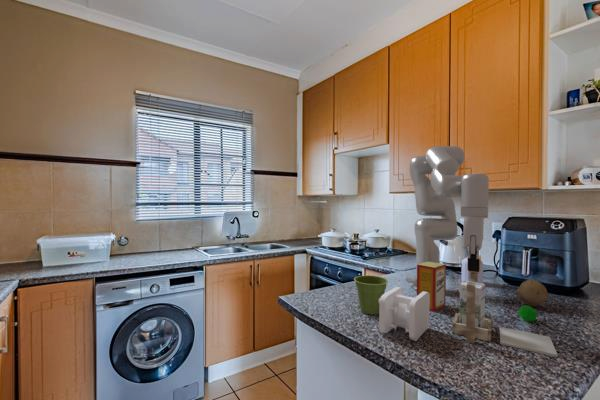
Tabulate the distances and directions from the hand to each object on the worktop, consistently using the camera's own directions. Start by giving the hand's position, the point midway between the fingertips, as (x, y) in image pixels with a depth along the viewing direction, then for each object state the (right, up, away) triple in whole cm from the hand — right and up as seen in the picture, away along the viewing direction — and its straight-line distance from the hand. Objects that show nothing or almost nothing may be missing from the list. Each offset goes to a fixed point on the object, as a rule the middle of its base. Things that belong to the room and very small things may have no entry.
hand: (473, 270), depth 94 cm
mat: (+9, -17, -11) cm, 22 cm away
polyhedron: (+21, -18, +4) cm, 28 cm away
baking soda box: (-6, -18, +17) cm, 25 cm away
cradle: (-3, -17, -4) cm, 18 cm away
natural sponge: (+33, -18, +18) cm, 42 cm away
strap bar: (+6, -1, +9) cm, 11 cm away
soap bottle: (+28, -18, +49) cm, 60 cm away
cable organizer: (-24, -17, -5) cm, 30 cm away
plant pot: (-30, -17, +11) cm, 36 cm away
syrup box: (-3, -18, -4) cm, 18 cm away
